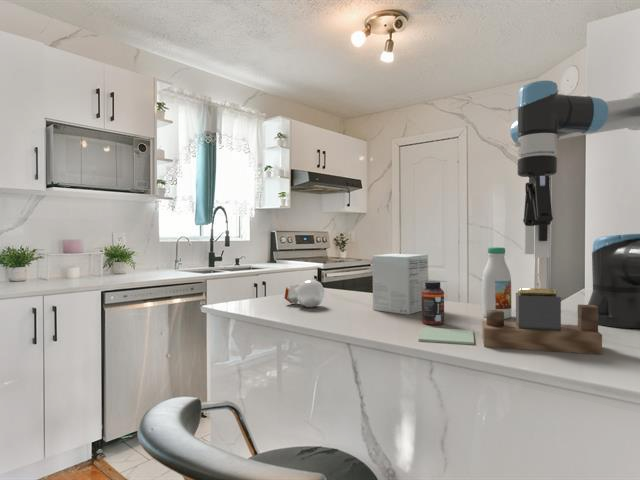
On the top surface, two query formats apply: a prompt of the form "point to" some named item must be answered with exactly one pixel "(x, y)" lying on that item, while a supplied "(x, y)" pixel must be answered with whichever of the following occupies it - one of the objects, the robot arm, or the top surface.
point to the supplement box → (399, 282)
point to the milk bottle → (496, 283)
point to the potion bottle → (306, 293)
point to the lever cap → (538, 309)
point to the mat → (447, 335)
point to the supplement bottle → (432, 303)
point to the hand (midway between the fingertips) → (536, 256)
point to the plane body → (545, 334)
